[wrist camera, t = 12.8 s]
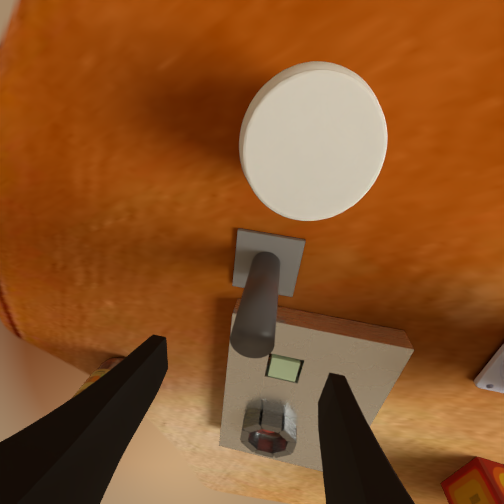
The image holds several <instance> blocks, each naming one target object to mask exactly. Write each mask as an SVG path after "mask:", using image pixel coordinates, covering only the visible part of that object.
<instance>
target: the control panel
mask: <svg viewBox="0 0 504 504" xmlns="http://www.w3.org/2000/svg"><path fill="white" fill-rule="evenodd" d="M240 301H241V299H239V298H238V299H237V302H236V305H235V308H234V310H233V313H232V323H231V332H232V328H233V325H234V322H235V318H236V315H237V311H238V308H239V305H240ZM230 335H231V333H230ZM413 352H414V348H413V346H412V344H411V342H410V340H409V339H408V337H407V335H406V333H405V331H403V330H398V329H393V328H388V327H383V326H378V325H372V324H367V323H362V322H357V321H352V320H347V319H342V318H336V317H331V316H326V315H321V314H316V313H311V312H306V311H300V310H295V309H290V308H285V307H280V306H277V318H276V332H275V345H274V349H273V351H272V352H271V354H276V355H281V356H286V357H290V358H295V359H300V366H299V370H298V373H297V376H296V380H295V382H293V381H289V380H284V379H280V378H275V377H271V376H268V373H269V364H270V359H268V357H269V355H267V356H265V357H262V358H248V357H245V356H242V355H240V354H239V353H237V352H236V351H235V350H234V349H233V347H232V346H231V343H229V353H228V363H227V372H226V382H225V392H224V402H223V412H222V422H221V431H220V441H219V446H223V447H227V448H231V449H235V450H239V451H243V452H247V453H251V454H255V455H259V456H263V457H267V458H271V459H275V460H279V461H283V462H287V463H291V464H295V465H299V466H302V467H306V468H310V469H314V470H318V471H322V472H323V469H322V460H321V451H320V442H319V432H318V401H319V398H320V396H321V393H322V390H323V388H324V385H325V383H326V380H327V377H328V375H329V372H330V373H335V374H339V375H344V376H345V377H346V379H347V381H348V384H349V386H350V388H351V390H352V392H353V394H354V396H355V399H356V401H357V403H358V405H359V407H360V409H361V411H362V413H363V415H364V417H365V419H366V421H367V423H368V425H369V427H370V425H371V423H372V422H373V420H374V418H375V417H376V415H377V413H378V411H379V410H380V408H381V406H382V405H383V403H384V401H385V399H386V398H387V396H388V394H389V393H390V391H391V389H392V387H393V386H394V384H395V382H396V381H397V379H398V377H399V375H400V374H401V372H402V370H403V369H404V367H405V365H406V363H407V362H408V360H409V358H410V357H411V355H412V353H413ZM262 429H264V430H268V431H272V432H274V433H268V432H265V431H263V430H262Z"/></svg>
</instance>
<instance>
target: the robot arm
mask: <svg viewBox="0 0 504 504" xmlns="http://www.w3.org/2000/svg"><path fill="white" fill-rule="evenodd" d="M167 370H168V360H167V343H166V337H162V336H157V335H152V336H150V337H149V338H148V339H147V340H146V341H145V342H143V343H142V344H141V345H140V346H139V347H138V348H136V349H135V350H134V351H133V352H132V353H130V354H129V355H128V356H127V357H126V358H124V359H123V360H122V361H121V362H119V363H118V364H117V365H116V366H114V367H113V368H112V369H111V370H109V371H108V372H107V373H106V374H104V375H103V376H102V377H100V378H99V379H98V380H96V381H95V382H94V383H92V384H91V385H90V386H88V387H87V388H86V389H84V390H83V391H82V392H80V393H79V394H77V395H76V396H74V397H73V398H72V399H70V400H69V401H67V402H66V403H64V404H63V405H61V406H60V407H58V408H57V409H55V410H54V411H52V412H50V413H49V414H47V415H46V416H44V417H42V418H41V419H39V420H38V421H36V422H34V423H33V424H31V425H29V426H28V427H26V428H24V429H23V430H21V431H19V432H18V433H16V434H14V435H12V436H11V437H9V438H7V439H5V440H3V441H2V442H0V504H100V502H101V500H102V498H103V495H104V493H105V491H106V489H107V486H108V485H109V483H110V480H111V478H112V476H113V474H114V472H115V470H116V467H117V465H118V463H119V461H120V459H121V457H122V455H123V453H124V451H125V450H126V448H127V446H128V444H129V442H130V440H131V439H132V437H133V435H134V433H135V432H136V430H137V428H138V426H139V425H140V423H141V421H142V419H143V418H144V416H145V414H146V412H147V411H148V409H149V407H150V405H151V403H152V402H153V400H154V398H155V396H156V394H157V392H158V390H159V388H160V386H161V384H162V381H163V379H164V377H165V374H166V372H167ZM474 383H475V385H476V386H477V387H478V388H482V389H487V390H491V391H496V392H501V393H504V344H503V345H502V346H501V347H500V349H499V350H498V351H497V352H496V354H495V355H494V356H493V357H492V359H491V360H490V361H489V362H488V364H487V365H486V366H485V367H484V369H483V370H482V371H481V372H480V374H479V375H478V376H477V377H476V379H475V380H474ZM318 432H319V442H320V451H321V460H322V469H323V478H324V487H325V495H326V504H415V503H414V502H413V500H412V498H411V497H410V495H409V494H408V492H407V491H406V489H405V488H404V486H403V484H402V483H401V481H400V479H399V478H398V476H397V474H396V473H395V471H394V470H393V468H392V466H391V464H390V463H389V461H388V459H387V457H386V456H385V454H384V452H383V451H382V449H381V447H380V445H379V443H378V442H377V440H376V438H375V436H374V434H373V432H372V430H371V428H370V427H369V425H368V423H367V421H366V419H365V417H364V415H363V413H362V411H361V409H360V407H359V405H358V403H357V401H356V399H355V396H354V394H353V392H352V390H351V388H350V386H349V384H348V381H347V379H346V377H345V376H344V375H339V374H335V373H330V372H329V375H328V377H327V380H326V383H325V385H324V388H323V390H322V393H321V396H320V398H319V401H318Z"/></svg>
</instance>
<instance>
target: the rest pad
mask: <svg viewBox="0 0 504 504" xmlns="http://www.w3.org/2000/svg"><path fill="white" fill-rule="evenodd" d="M304 245H305V239H300V238H294V237H288V236H282V235H276V234H270V233H264V232H258V231H253V230H247V229H241V228H239V229H238V232H237V243H236V253H235V264H234V274H233V285H232V286H237V287H242V288H245V284H246V281H247V277H248V274H249V271H250V267H251V264H252V260H253V258H254V257H255V255H257V254H258V253H260V252H271V253H273V254H275V255H276V256H277V257H278V258H279V260H280V277H279V291H278V294H279V295H284V296H290V297H292V296H293V292H294V288H295V284H296V279H297V275H298V271H299V267H300V262H301V258H302V254H303V249H304Z"/></svg>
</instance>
